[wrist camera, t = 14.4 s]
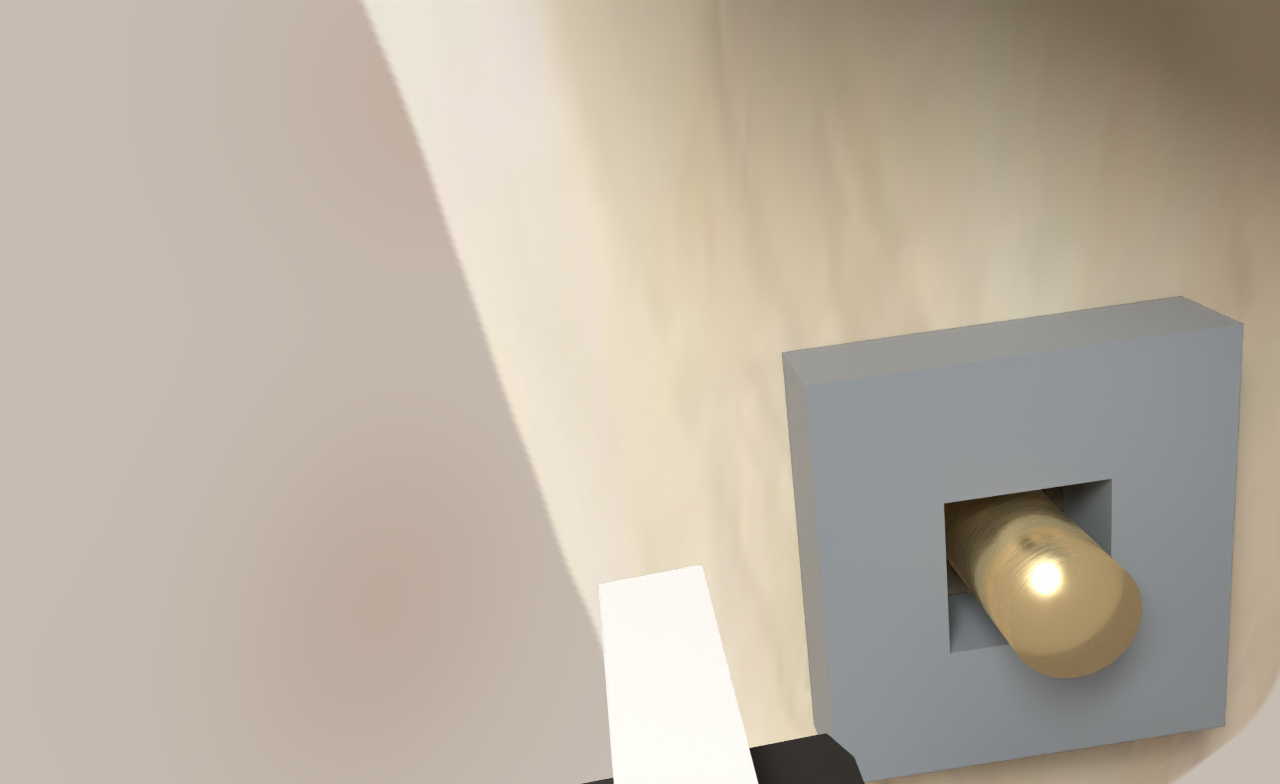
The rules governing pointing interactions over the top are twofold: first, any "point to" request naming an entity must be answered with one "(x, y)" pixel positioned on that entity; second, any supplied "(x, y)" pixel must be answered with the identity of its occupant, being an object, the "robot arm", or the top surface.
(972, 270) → the top surface
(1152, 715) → the jig
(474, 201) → the top surface
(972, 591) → the gold metal cylinder
